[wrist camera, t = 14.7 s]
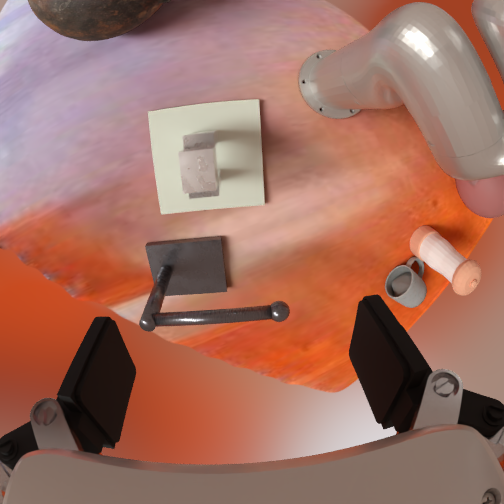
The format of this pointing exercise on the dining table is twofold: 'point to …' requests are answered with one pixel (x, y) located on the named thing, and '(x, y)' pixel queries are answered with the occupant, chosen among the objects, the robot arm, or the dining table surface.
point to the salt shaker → (445, 259)
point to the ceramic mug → (407, 284)
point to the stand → (195, 284)
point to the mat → (227, 152)
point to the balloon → (483, 196)
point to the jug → (94, 16)
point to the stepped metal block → (200, 165)
